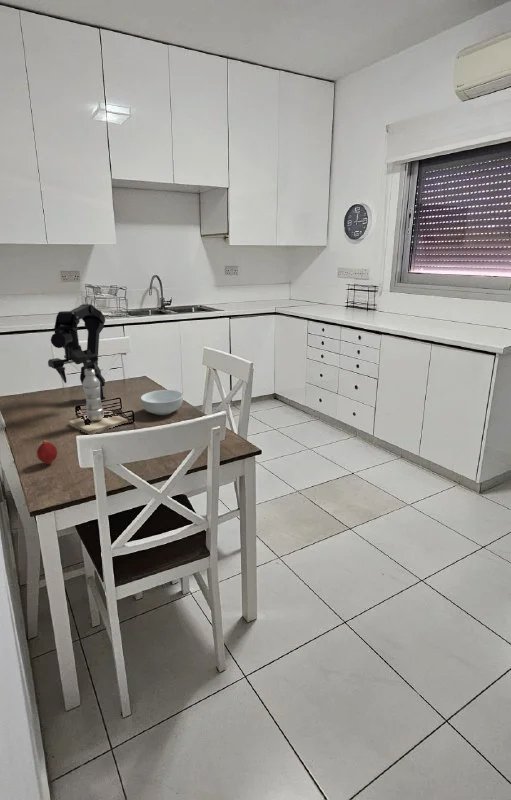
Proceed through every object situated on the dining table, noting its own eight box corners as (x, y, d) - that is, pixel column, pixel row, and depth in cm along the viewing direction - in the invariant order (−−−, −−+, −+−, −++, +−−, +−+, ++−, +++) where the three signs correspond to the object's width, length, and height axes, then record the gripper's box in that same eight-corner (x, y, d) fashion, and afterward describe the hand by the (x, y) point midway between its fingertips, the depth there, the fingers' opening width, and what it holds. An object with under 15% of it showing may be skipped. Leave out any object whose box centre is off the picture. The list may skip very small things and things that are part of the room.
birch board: (107, 414, 190) (106, 410, 190) (128, 423, 180) (127, 419, 179) (69, 424, 179) (68, 421, 179) (89, 435, 169) (88, 431, 168)
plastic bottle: (103, 416, 184) (97, 366, 177) (106, 421, 178) (99, 370, 172) (86, 418, 181) (79, 368, 175) (88, 424, 175) (81, 372, 169)
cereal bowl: (134, 412, 192) (132, 396, 189) (167, 403, 203) (165, 387, 201) (158, 422, 181) (157, 404, 178) (192, 411, 192) (191, 394, 190)
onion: (42, 460, 149) (38, 437, 147) (61, 459, 150) (57, 436, 147) (36, 468, 144) (32, 444, 141) (55, 467, 144) (51, 443, 142)
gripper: (56, 349, 175) (62, 389, 180) (102, 342, 188) (107, 379, 193) (44, 345, 183) (50, 383, 187) (89, 338, 195) (94, 374, 200)
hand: (76, 380), depth 192 cm, fingers open, 9 cm apart
